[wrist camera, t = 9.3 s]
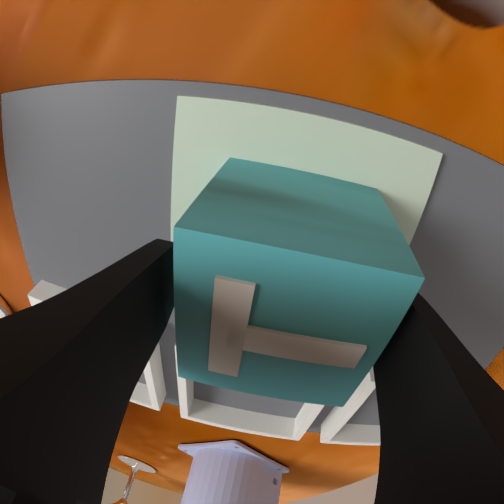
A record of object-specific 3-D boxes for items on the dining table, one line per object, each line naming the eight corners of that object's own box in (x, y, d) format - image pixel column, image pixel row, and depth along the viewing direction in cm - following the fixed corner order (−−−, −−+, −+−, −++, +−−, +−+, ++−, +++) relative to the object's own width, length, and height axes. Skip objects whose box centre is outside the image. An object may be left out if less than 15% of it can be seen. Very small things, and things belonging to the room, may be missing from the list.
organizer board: (414, 428, 20) (417, 451, 18) (72, 359, 21) (59, 379, 19) (572, 207, 9) (597, 228, 7) (12, 91, 10) (-21, 100, 8)
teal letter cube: (336, 301, 12) (343, 409, 8) (217, 277, 13) (177, 379, 8) (376, 188, 10) (426, 280, 5) (230, 157, 10) (171, 229, 6)
